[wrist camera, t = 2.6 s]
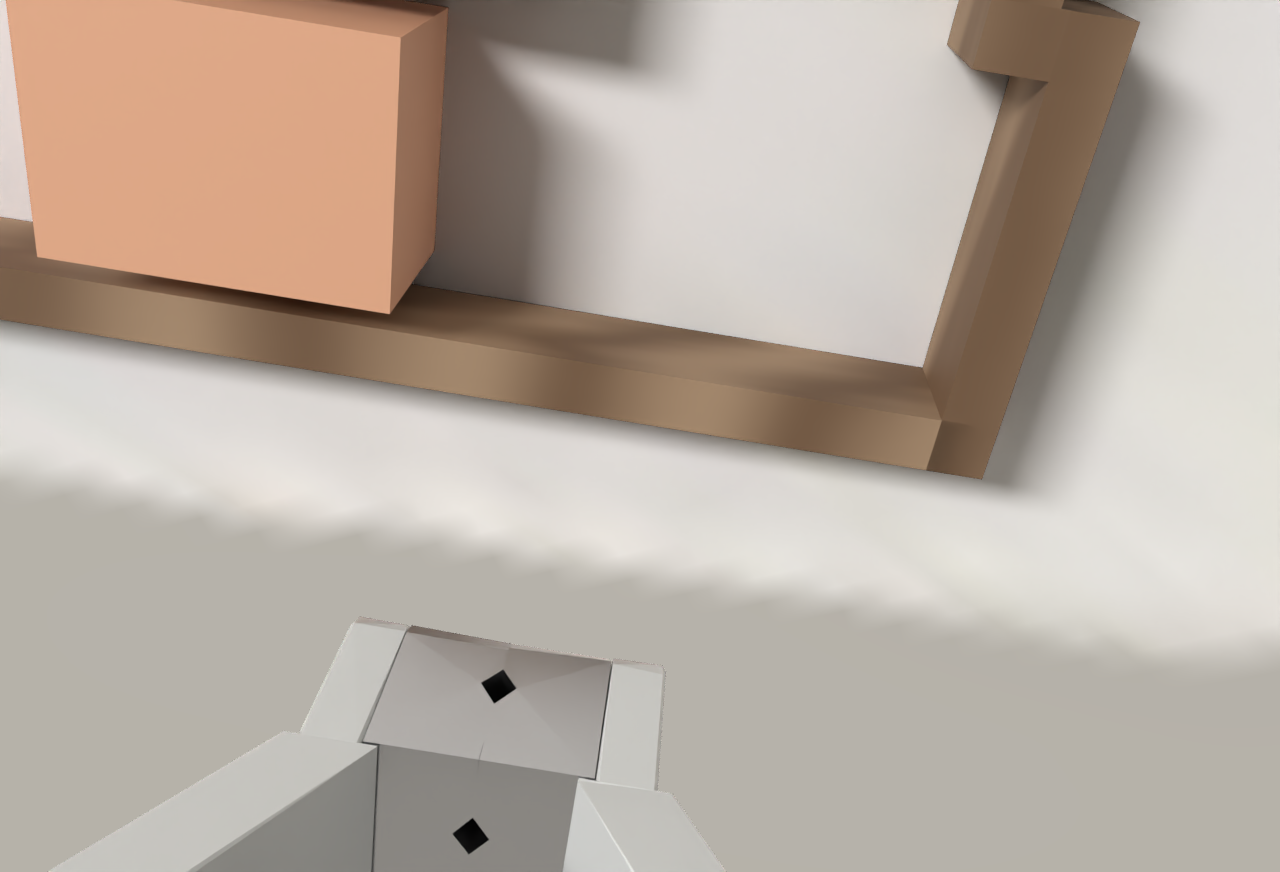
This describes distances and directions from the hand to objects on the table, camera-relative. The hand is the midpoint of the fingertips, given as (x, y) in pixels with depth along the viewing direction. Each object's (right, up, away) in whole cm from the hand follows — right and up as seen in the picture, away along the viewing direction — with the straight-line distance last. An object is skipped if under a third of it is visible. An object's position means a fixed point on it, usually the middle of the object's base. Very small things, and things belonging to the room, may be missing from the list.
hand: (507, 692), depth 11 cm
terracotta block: (-8, +11, +17) cm, 21 cm away
